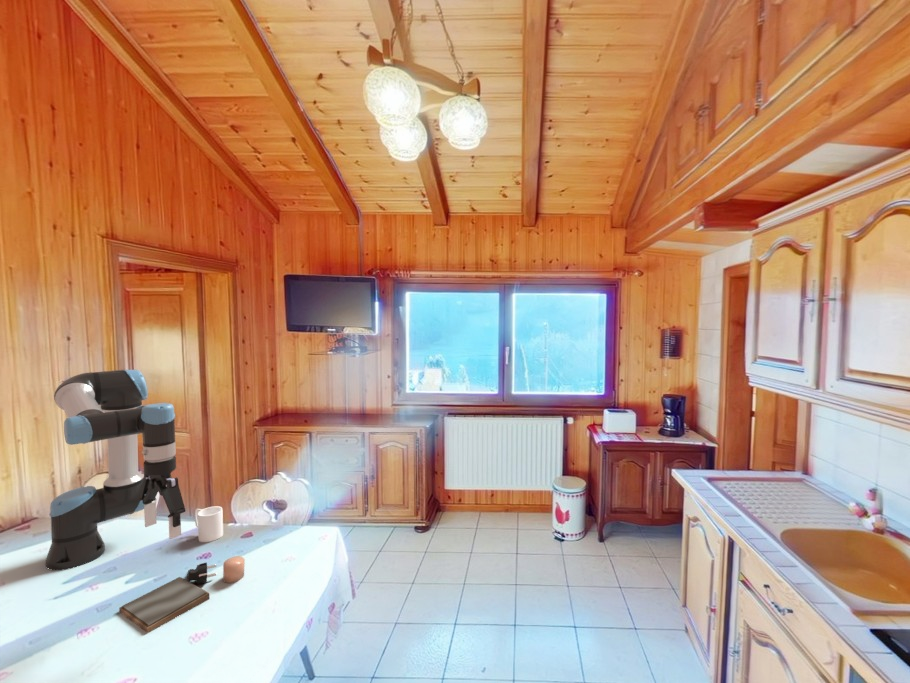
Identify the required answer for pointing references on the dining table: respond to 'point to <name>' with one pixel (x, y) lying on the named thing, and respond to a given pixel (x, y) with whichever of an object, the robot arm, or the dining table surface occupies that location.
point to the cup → (209, 523)
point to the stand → (164, 604)
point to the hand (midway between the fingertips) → (162, 530)
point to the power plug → (200, 573)
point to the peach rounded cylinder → (233, 569)
